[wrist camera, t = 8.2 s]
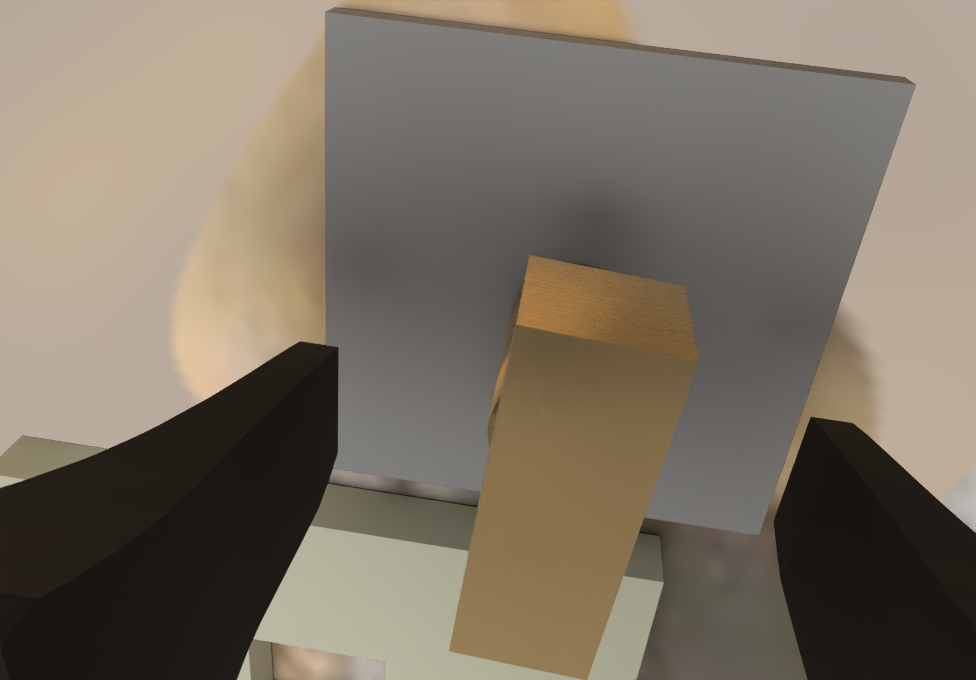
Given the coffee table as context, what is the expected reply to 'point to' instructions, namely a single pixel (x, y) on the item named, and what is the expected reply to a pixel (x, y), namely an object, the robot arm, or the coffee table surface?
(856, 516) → the robot arm
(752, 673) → the coffee table surface
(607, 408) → the t key
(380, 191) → the felt pad
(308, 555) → the plate
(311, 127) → the coffee table surface
